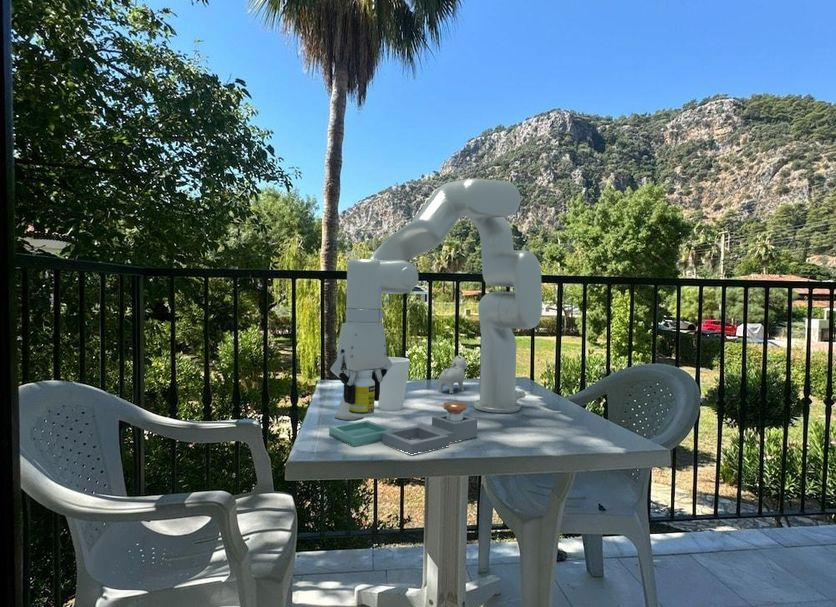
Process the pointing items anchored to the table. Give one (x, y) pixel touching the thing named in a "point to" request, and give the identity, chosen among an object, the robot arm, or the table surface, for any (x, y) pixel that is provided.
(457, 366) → the dog figurine
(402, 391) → the foam cup
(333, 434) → the tray
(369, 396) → the supplement bottle
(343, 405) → the flask
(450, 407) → the plunger
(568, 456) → the table surface
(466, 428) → the housing
